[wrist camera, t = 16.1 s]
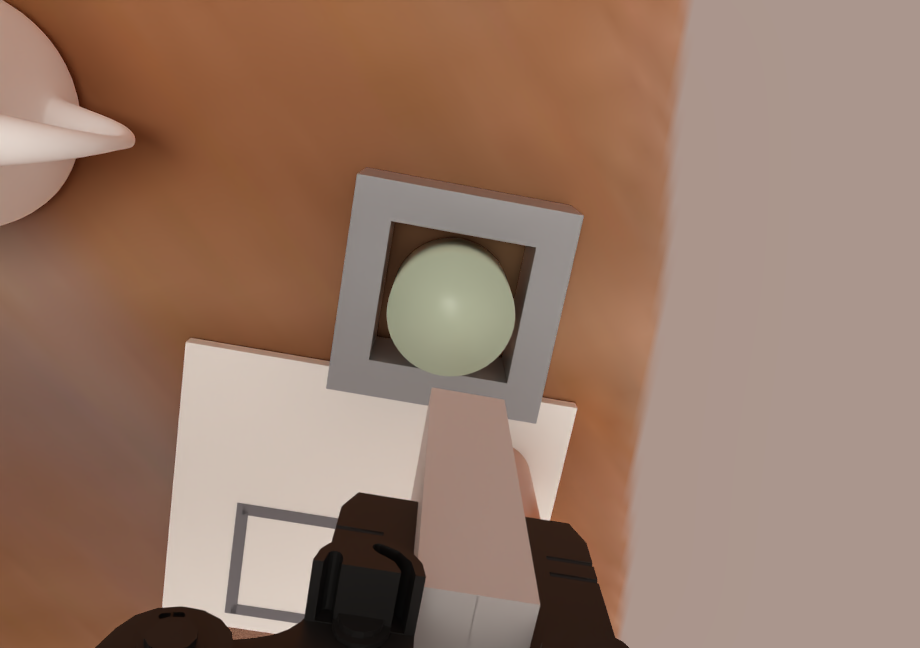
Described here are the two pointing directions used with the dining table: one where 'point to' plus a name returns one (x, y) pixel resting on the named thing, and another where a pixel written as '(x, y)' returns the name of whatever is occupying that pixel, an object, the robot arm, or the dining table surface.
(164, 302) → the dining table surface
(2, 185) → the mug
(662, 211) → the dining table surface
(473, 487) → the robot arm
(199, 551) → the sheet
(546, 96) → the dining table surface
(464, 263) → the button
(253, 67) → the dining table surface
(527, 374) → the button housing
